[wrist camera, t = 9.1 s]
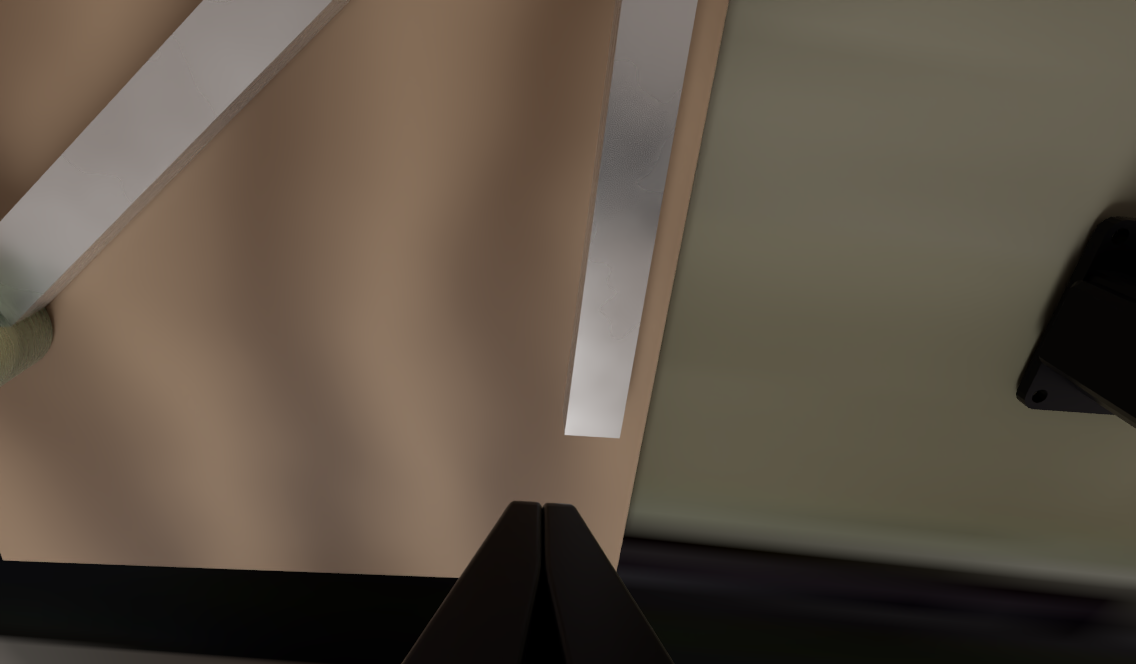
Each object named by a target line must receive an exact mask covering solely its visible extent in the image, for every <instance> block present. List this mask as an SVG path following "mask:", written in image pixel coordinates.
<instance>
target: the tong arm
mask: <svg viewBox="0 0 1136 664" xmlns="http://www.w3.org/2000/svg"><path fill="white" fill-rule="evenodd" d="M349 1H350V0H203V1H202V2H201V3H200V4H199V5H198V6H197V7H196V9H195V10H194V11H193V12H192V13H191V14H190V15H189V16H188V17H187V18H186V19H185V21H184V22H183V23H182V24H181V25H180V26H179V27H178V28H177V29H176V30H175V31H174V33H173V34H172V35H171V36H170V37H169V38H168V39H167V40H166V41H165V42H164V43H163V45H162V46H161V47H160V48H159V49H158V50H157V51H156V52H155V53H154V54H153V55H152V57H151V58H150V59H149V60H148V61H147V62H146V63H145V64H144V65H143V66H142V67H141V69H140V70H139V71H138V72H137V73H136V74H135V75H134V76H133V77H132V78H131V79H130V81H129V82H128V83H127V84H126V85H125V86H124V87H123V88H122V89H121V90H120V91H119V93H118V94H117V95H116V96H115V97H114V98H113V99H112V100H111V101H110V102H109V103H108V105H107V106H106V107H105V108H104V109H103V110H102V111H101V112H100V113H99V114H98V115H97V117H96V118H95V119H94V120H93V121H92V122H91V123H90V124H89V125H88V126H87V127H86V129H85V130H84V131H83V132H82V133H81V134H80V135H79V136H78V137H77V138H76V139H75V141H74V142H73V143H72V144H71V145H70V146H69V147H68V148H67V149H66V150H65V151H64V152H63V154H62V155H61V156H60V157H59V158H58V159H57V160H56V161H55V162H54V163H53V164H52V166H51V167H50V168H49V169H48V170H47V171H46V172H45V173H44V174H43V175H42V176H41V178H40V179H39V180H38V181H37V182H36V183H35V184H34V185H33V186H32V187H31V188H30V190H29V191H28V192H27V193H26V194H25V195H24V196H23V197H22V198H21V199H20V200H19V202H18V203H17V204H16V205H15V206H14V207H13V208H12V209H11V210H10V211H9V212H8V214H7V215H6V216H5V217H4V218H3V219H2V220H1V221H0V387H1V386H2V385H4V384H5V383H7V382H8V381H10V380H11V379H13V378H14V377H16V376H17V375H19V374H20V373H22V372H23V371H25V370H26V369H28V368H29V367H31V366H32V365H34V364H35V363H37V362H38V361H39V360H40V359H42V358H43V357H44V356H45V354H46V353H47V352H48V350H49V348H50V345H51V342H52V336H53V332H52V324H51V320H50V317H49V314H48V312H47V310H46V308H45V307H46V306H47V305H48V304H49V303H50V302H51V301H52V300H53V299H54V298H55V297H56V296H57V295H58V294H59V293H60V292H61V291H62V290H63V289H64V288H65V287H66V286H67V285H68V284H69V283H70V282H71V281H72V280H73V279H74V278H75V277H76V276H77V275H78V274H79V273H80V272H81V271H82V270H83V269H84V268H85V267H86V266H87V265H88V264H89V263H90V262H91V261H92V260H93V259H94V258H95V257H96V256H97V255H98V254H99V253H100V252H101V250H102V249H103V248H104V247H105V246H106V245H107V244H108V243H109V242H110V241H111V240H112V239H113V238H114V237H115V236H116V235H117V234H118V233H119V232H120V231H121V230H122V229H123V228H124V227H125V226H126V225H127V224H128V223H129V222H130V221H131V220H132V219H133V218H134V217H135V216H136V215H137V214H138V213H139V212H140V211H141V210H142V209H143V208H144V207H145V206H146V205H147V204H148V203H149V202H150V201H151V200H152V199H153V198H154V197H155V196H156V195H157V194H158V193H159V192H160V191H161V190H162V189H163V188H164V187H165V186H166V185H167V184H168V183H169V182H170V181H171V180H172V179H173V178H174V177H175V176H176V175H177V174H178V173H179V172H180V171H181V170H182V169H183V168H184V167H185V166H186V165H187V164H188V163H189V162H190V161H191V160H192V159H193V158H194V157H195V156H196V155H197V154H198V153H199V152H200V151H201V150H202V149H203V148H204V147H205V146H206V145H207V144H208V143H209V142H210V141H211V140H212V139H213V138H214V137H215V136H216V135H217V134H218V133H219V132H220V131H221V130H222V129H223V128H224V127H225V126H226V125H227V124H228V123H229V122H230V121H231V120H232V119H233V118H234V117H235V116H236V115H237V114H238V113H239V112H240V111H241V110H242V109H243V108H244V107H245V106H246V105H247V104H248V103H249V102H250V101H251V100H252V99H253V98H254V97H255V96H256V95H257V94H258V93H259V92H260V91H261V90H262V89H263V88H264V87H265V86H266V85H267V84H268V83H269V82H270V81H271V80H272V79H273V78H274V77H275V76H276V75H277V74H278V73H279V72H280V71H281V70H282V68H283V67H284V66H285V65H286V64H287V63H288V62H289V61H290V60H291V59H292V58H293V57H294V56H295V55H296V54H297V53H298V52H299V51H300V50H301V49H302V48H303V47H304V46H305V45H306V44H307V43H308V42H309V41H310V40H311V39H312V38H313V37H314V36H315V35H316V34H317V33H318V32H319V31H320V30H321V29H322V28H323V27H324V26H325V25H326V24H327V23H328V22H329V21H330V20H331V19H332V18H333V17H334V16H335V15H336V14H337V13H338V12H339V11H340V10H341V9H342V8H343V7H344V6H345V5H346V4H347V3H348V2H349Z"/></svg>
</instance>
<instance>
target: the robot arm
mask: <svg viewBox="0 0 1136 664" xmlns="http://www.w3.org/2000/svg"><path fill="white" fill-rule="evenodd" d="M1116 231H1118V232H1117V234H1116V236H1115V237H1114V238H1112V236H1113V235H1114V233H1115V232H1116ZM1035 392H1037V393H1036V394H1034V393H1035ZM1016 396H1017V399H1018V400H1019V401H1020V402H1022V403H1023V404H1024V405H1026V406H1027V407H1028V408H1031V409H1039V410H1053V411H1067V412H1081V413H1096V414H1110V415H1116V416H1118V417H1119V418H1121V419H1122V420H1124V421H1125V422H1127V423H1128V424H1130V425H1131V426H1133V427H1134V428H1136V218H1128V217H1118V216H1116V217H1110V218H1108V219H1105V220H1104V221H1102V222H1101V223H1100V224H1099V225H1098V226H1097V228H1096V229H1095V231H1094V232H1093V234H1092V236H1091V239H1090V241H1089V243H1088V245H1087V247H1086V249H1085V251H1084V253H1083V255H1082V257H1081V259H1080V261H1079V263H1078V265H1077V267H1076V269H1075V271H1074V274H1073V276H1072V278H1071V280H1070V282H1069V284H1068V286H1067V288H1066V290H1065V292H1064V294H1063V296H1062V298H1061V300H1060V302H1059V304H1058V307H1057V309H1056V311H1055V313H1054V315H1053V317H1052V319H1051V321H1050V323H1049V325H1048V327H1047V329H1046V331H1045V333H1044V335H1043V337H1042V339H1041V342H1040V344H1039V346H1038V348H1037V350H1036V352H1035V354H1034V356H1033V358H1032V360H1031V362H1030V364H1029V366H1028V368H1027V370H1026V372H1025V374H1024V377H1023V379H1022V381H1021V383H1020V385H1019V387H1018V389H1017V393H1016ZM402 664H674V662H673V661H672V659H671V658H670V656H669V654H668V653H667V651H666V650H665V648H664V646H663V645H662V643H661V642H660V640H659V639H658V637H657V635H656V634H655V632H654V631H653V629H652V627H651V626H650V624H649V623H648V621H647V620H646V618H645V616H644V615H643V613H642V612H641V610H640V608H639V607H638V605H637V604H636V602H635V601H634V599H633V597H632V596H631V594H630V593H629V591H628V589H627V588H626V586H625V585H624V583H623V582H622V580H621V578H620V577H619V575H618V574H617V572H616V570H615V569H614V567H613V566H612V564H611V563H610V561H609V559H608V558H607V556H606V555H605V553H604V551H603V550H602V548H601V547H600V545H599V544H598V542H597V540H596V539H595V537H594V536H593V534H592V532H591V531H590V529H589V528H588V526H587V525H586V523H585V521H584V520H583V518H582V517H581V515H580V514H579V512H578V510H577V509H576V507H575V506H573V505H572V504H564V503H545V504H544V505H543V507H542V506H541V504H540V503H539V502H532V501H512V502H510V503H509V505H508V506H507V507H506V509H505V510H504V512H503V513H502V515H501V516H500V518H499V519H498V521H497V522H496V524H495V525H494V527H493V528H492V530H491V531H490V533H489V534H488V536H487V537H486V539H485V540H484V542H483V543H482V545H481V546H480V548H479V549H478V551H477V552H476V554H475V555H474V557H473V558H472V559H471V561H470V562H469V564H468V565H467V567H466V568H465V570H464V571H463V573H462V574H461V576H460V577H459V579H458V580H457V582H456V583H455V585H454V586H453V588H452V589H451V591H450V592H449V594H448V595H447V597H446V598H445V600H444V601H443V603H442V604H441V606H440V607H439V609H438V610H437V612H436V613H435V614H434V616H433V617H432V619H431V620H430V622H429V623H428V625H427V626H426V628H425V629H424V631H423V632H422V634H421V635H420V637H419V638H418V640H417V641H416V643H415V644H414V646H413V647H412V649H411V650H410V652H409V653H408V655H407V656H406V658H405V659H404V661H403V662H402Z"/></svg>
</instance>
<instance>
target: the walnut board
mask: <svg viewBox="0 0 1136 664" xmlns="http://www.w3.org/2000/svg"><path fill="white" fill-rule="evenodd" d="M202 1H203V0H0V221H1V220H2V219H3V218H4V217H5V216H6V215H7V214H8V212H9V211H10V210H11V209H12V208H13V207H14V206H15V205H16V204H17V203H18V202H19V200H20V199H21V198H22V197H23V196H24V195H25V194H26V193H27V192H28V191H29V190H30V188H31V187H32V186H33V185H34V184H35V183H36V182H37V181H38V180H39V179H40V178H41V176H42V175H43V174H44V173H45V172H46V171H47V170H48V169H49V168H50V167H51V166H52V164H53V163H54V162H55V161H56V160H57V159H58V158H59V157H60V156H61V155H62V154H63V152H64V151H65V150H66V149H67V148H68V147H69V146H70V145H71V144H72V143H73V142H74V141H75V139H76V138H77V137H78V136H79V135H80V134H81V133H82V132H83V131H84V130H85V129H86V127H87V126H88V125H89V124H90V123H91V122H92V121H93V120H94V119H95V118H96V117H97V115H98V114H99V113H100V112H101V111H102V110H103V109H104V108H105V107H106V106H107V105H108V103H109V102H110V101H111V100H112V99H113V98H114V97H115V96H116V95H117V94H118V93H119V91H120V90H121V89H122V88H123V87H124V86H125V85H126V84H127V83H128V82H129V81H130V79H131V78H132V77H133V76H134V75H135V74H136V73H137V72H138V71H139V70H140V69H141V67H142V66H143V65H144V64H145V63H146V62H147V61H148V60H149V59H150V58H151V57H152V55H153V54H154V53H155V52H156V51H157V50H158V49H159V48H160V47H161V46H162V45H163V43H164V42H165V41H166V40H167V39H168V38H169V37H170V36H171V35H172V34H173V33H174V31H175V30H176V29H177V28H178V27H179V26H180V25H181V24H182V23H183V22H184V21H185V19H186V18H187V17H188V16H189V15H190V14H191V13H192V12H193V11H194V10H195V9H196V7H197V6H198V5H199V4H200V3H201V2H202ZM728 3H729V0H698V2H697V8H696V14H695V19H694V25H693V30H692V36H691V42H690V47H689V53H688V58H687V64H686V70H685V75H684V81H683V86H682V92H681V98H680V103H679V109H678V114H677V120H676V126H675V131H674V137H673V143H672V148H671V154H670V159H669V165H668V171H667V176H666V182H665V187H664V193H663V199H662V204H661V210H660V215H659V221H658V227H657V232H656V238H655V243H654V249H653V255H652V260H651V266H650V271H649V277H648V283H647V288H646V294H645V299H644V305H643V311H642V316H641V322H640V327H639V333H638V339H637V344H636V350H635V356H634V361H633V367H632V372H631V378H630V384H629V389H628V395H627V400H626V406H625V412H624V417H623V423H622V428H621V434H620V438H605V437H589V436H573V435H564V424H563V404H564V396H565V388H566V381H567V373H568V365H569V357H570V350H571V342H572V334H573V326H574V318H575V311H576V303H577V295H578V287H579V280H580V272H581V264H582V256H583V248H584V241H585V233H586V225H587V217H588V210H589V202H590V194H591V186H592V178H593V171H594V163H595V155H596V147H597V140H598V132H599V124H600V116H601V108H602V101H603V93H604V85H605V77H606V70H607V62H608V54H609V46H610V38H611V31H612V23H613V15H614V7H615V0H350V1H349V2H348V3H347V4H346V5H345V6H344V7H343V8H342V9H341V10H340V11H339V12H338V13H337V14H336V15H335V16H334V17H333V18H332V19H331V20H330V21H329V22H328V23H327V24H326V25H325V26H324V27H323V28H322V29H321V30H320V31H319V32H318V33H317V34H316V35H315V36H314V37H313V38H312V39H311V40H310V41H309V42H308V43H307V44H306V45H305V46H304V47H303V48H302V49H301V50H300V51H299V52H298V53H297V54H296V55H295V56H294V57H293V58H292V59H291V60H290V61H289V62H288V63H287V64H286V65H285V66H284V67H283V68H282V70H281V71H280V72H279V73H278V74H277V75H276V76H275V77H274V78H273V79H272V80H271V81H270V82H269V83H268V84H267V85H266V86H265V87H264V88H263V89H262V90H261V91H260V92H259V93H258V94H257V95H256V96H255V97H254V98H253V99H252V100H251V101H250V102H249V103H248V104H247V105H246V106H245V107H244V108H243V109H242V110H241V111H240V112H239V113H238V114H237V115H236V116H235V117H234V118H233V119H232V120H231V121H230V122H229V123H228V124H227V125H226V126H225V127H224V128H223V129H222V130H221V131H220V132H219V133H218V134H217V135H216V136H215V137H214V138H213V139H212V140H211V141H210V142H209V143H208V144H207V145H206V146H205V147H204V148H203V149H202V150H201V151H200V152H199V153H198V154H197V155H196V156H195V157H194V158H193V159H192V160H191V161H190V162H189V163H188V164H187V165H186V166H185V167H184V168H183V169H182V170H181V171H180V172H179V173H178V174H177V175H176V176H175V177H174V178H173V179H172V180H171V181H170V182H169V183H168V184H167V185H166V186H165V187H164V188H163V189H162V190H161V191H160V192H159V193H158V194H157V195H156V196H155V197H154V198H153V199H152V200H151V201H150V202H149V203H148V204H147V205H146V206H145V207H144V208H143V209H142V210H141V211H140V212H139V213H138V214H137V215H136V216H135V217H134V218H133V219H132V220H131V221H130V222H129V223H128V224H127V225H126V226H125V227H124V228H123V229H122V230H121V231H120V232H119V233H118V234H117V235H116V236H115V237H114V238H113V239H112V240H111V241H110V242H109V243H108V244H107V245H106V246H105V247H104V248H103V249H102V250H101V252H100V253H99V254H98V255H97V256H96V257H95V258H94V259H93V260H92V261H91V262H90V263H89V264H88V265H87V266H86V267H85V268H84V269H83V270H82V271H81V272H80V273H79V274H78V275H77V276H76V277H75V278H74V279H73V280H72V281H71V282H70V283H69V284H68V285H67V286H66V287H65V288H64V289H63V290H62V291H61V292H60V293H59V294H58V295H57V296H56V297H55V298H54V299H53V300H52V301H51V302H50V303H49V304H48V305H47V306H46V307H45V308H46V310H47V312H48V314H49V317H50V320H51V324H52V332H53V336H52V342H51V345H50V348H49V350H48V352H47V353H46V354H45V356H44V357H43V358H42V359H40V360H39V361H38V362H37V363H35V364H34V365H32V366H31V367H29V368H28V369H26V370H25V371H23V372H22V373H20V374H19V375H17V376H16V377H14V378H13V379H11V380H10V381H8V382H7V383H5V384H4V385H2V386H1V387H0V553H1V556H2V559H3V560H12V561H38V562H64V563H90V564H116V565H142V566H167V567H193V568H219V569H245V570H271V571H297V572H323V573H349V574H375V575H401V576H427V577H453V578H459V577H460V576H461V574H462V573H463V571H464V570H465V568H466V567H467V565H468V564H469V562H470V561H471V559H472V558H473V557H474V555H475V554H476V552H477V551H478V549H479V548H480V546H481V545H482V543H483V542H484V540H485V539H486V537H487V536H488V534H489V533H490V531H491V530H492V528H493V527H494V525H495V524H496V522H497V521H498V519H499V518H500V516H501V515H502V513H503V512H504V510H505V509H506V507H507V506H508V505H509V503H510V502H512V501H532V502H539V503H540V504H541V506H542V507H543V505H544V504H545V503H564V504H572V505H573V506H575V507H576V509H577V510H578V512H579V514H580V515H581V517H582V518H583V520H584V521H585V523H586V525H587V526H588V528H589V529H590V531H591V532H592V534H593V536H594V537H595V539H596V540H597V542H598V544H599V545H600V547H601V548H602V550H603V551H604V553H605V555H606V556H607V558H608V559H609V561H610V563H611V564H612V566H613V567H614V569H615V570H616V571H617V566H618V561H619V556H620V551H621V545H622V540H623V535H624V530H625V525H626V520H627V515H628V510H629V505H630V500H631V495H632V490H633V485H634V480H635V474H636V469H637V464H638V459H639V454H640V449H641V444H642V439H643V434H644V429H645V424H646V419H647V414H648V409H649V403H650V398H651V393H652V388H653V383H654V378H655V373H656V368H657V363H658V358H659V353H660V348H661V343H662V338H663V332H664V327H665V322H666V317H667V312H668V307H669V302H670V297H671V292H672V287H673V282H674V277H675V272H676V267H677V261H678V256H679V251H680V246H681V241H682V236H683V231H684V226H685V221H686V216H687V211H688V206H689V201H690V196H691V191H692V185H693V180H694V175H695V170H696V165H697V160H698V155H699V150H700V145H701V140H702V135H703V130H704V125H705V120H706V114H707V109H708V104H709V99H710V94H711V89H712V84H713V79H714V74H715V69H716V64H717V59H718V54H719V49H720V43H721V38H722V33H723V28H724V23H725V18H726V13H727V8H728Z"/></svg>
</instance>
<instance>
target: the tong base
mask: <svg viewBox="0 0 1136 664" xmlns="http://www.w3.org/2000/svg"><path fill="white" fill-rule="evenodd" d="M697 2H698V0H615V7H614V15H613V23H612V31H611V38H610V46H609V54H608V62H607V70H606V77H605V85H604V93H603V101H602V108H601V116H600V124H599V132H598V140H597V147H596V155H595V163H594V171H593V178H592V186H591V194H590V202H589V210H588V217H587V225H586V233H585V241H584V248H583V256H582V264H581V272H580V280H579V287H578V295H577V303H576V311H575V318H574V326H573V334H572V342H571V350H570V357H569V365H568V373H567V381H566V388H565V396H564V404H563V424H564V435H573V436H589V437H605V438H620V434H621V428H622V423H623V417H624V412H625V406H626V400H627V395H628V389H629V384H630V378H631V372H632V367H633V361H634V356H635V350H636V344H637V339H638V333H639V327H640V322H641V316H642V311H643V305H644V299H645V294H646V288H647V283H648V277H649V271H650V266H651V260H652V255H653V249H654V243H655V238H656V232H657V227H658V221H659V215H660V210H661V204H662V199H663V193H664V187H665V182H666V176H667V171H668V165H669V159H670V154H671V148H672V143H673V137H674V131H675V126H676V120H677V114H678V109H679V103H680V98H681V92H682V86H683V81H684V75H685V70H686V64H687V58H688V53H689V47H690V42H691V36H692V30H693V25H694V19H695V14H696V8H697Z"/></svg>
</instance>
